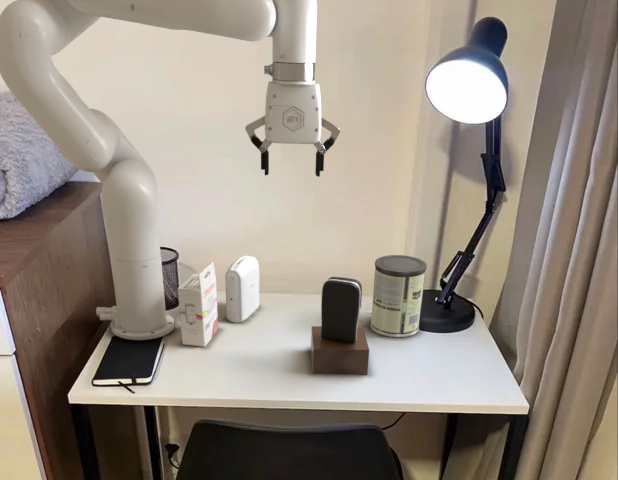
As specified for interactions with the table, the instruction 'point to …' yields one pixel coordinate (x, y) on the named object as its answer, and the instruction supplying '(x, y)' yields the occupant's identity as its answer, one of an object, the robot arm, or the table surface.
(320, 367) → the block
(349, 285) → the black rounded block
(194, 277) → the ink cartridge box
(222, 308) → the table surface
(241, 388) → the table surface
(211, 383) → the table surface
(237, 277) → the photo printer
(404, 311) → the coffee can
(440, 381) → the table surface
